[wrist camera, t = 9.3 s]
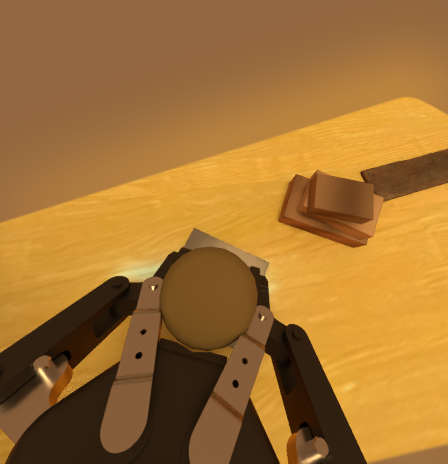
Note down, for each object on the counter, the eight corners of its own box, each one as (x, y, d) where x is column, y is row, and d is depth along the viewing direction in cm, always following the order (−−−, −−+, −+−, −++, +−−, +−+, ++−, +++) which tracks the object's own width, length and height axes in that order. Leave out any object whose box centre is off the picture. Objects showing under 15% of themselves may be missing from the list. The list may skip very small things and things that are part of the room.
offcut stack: (278, 221, 23) (296, 204, 18) (290, 181, 25) (309, 156, 20) (354, 247, 23) (394, 238, 18) (361, 205, 24) (400, 185, 19)
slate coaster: (154, 306, 20) (152, 307, 20) (194, 229, 23) (194, 227, 22) (234, 347, 20) (235, 349, 19) (268, 263, 22) (269, 262, 21)
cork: (173, 281, 19) (114, 283, 8) (219, 247, 20) (221, 209, 9) (207, 332, 18) (189, 410, 7) (254, 293, 19) (301, 310, 8)
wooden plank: (381, 202, 24) (365, 168, 25) (372, 205, 25) (357, 173, 26) (479, 173, 26) (461, 143, 27) (466, 177, 27) (450, 148, 28)
